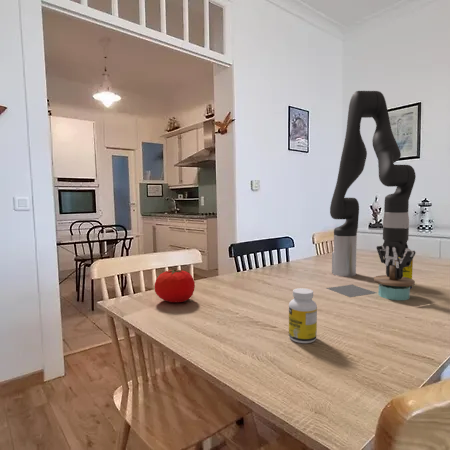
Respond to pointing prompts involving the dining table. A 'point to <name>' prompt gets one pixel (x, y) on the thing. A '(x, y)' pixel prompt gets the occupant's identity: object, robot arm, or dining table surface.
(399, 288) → the bowl
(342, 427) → the dining table surface
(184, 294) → the tomato
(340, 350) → the dining table surface
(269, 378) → the dining table surface
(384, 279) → the lid
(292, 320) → the pill bottle
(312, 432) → the dining table surface
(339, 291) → the mat
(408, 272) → the supplement box
